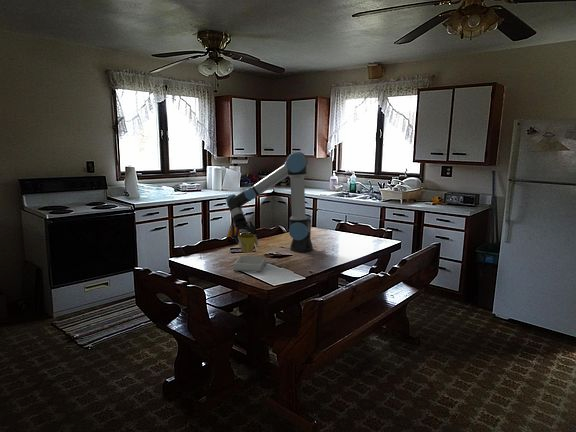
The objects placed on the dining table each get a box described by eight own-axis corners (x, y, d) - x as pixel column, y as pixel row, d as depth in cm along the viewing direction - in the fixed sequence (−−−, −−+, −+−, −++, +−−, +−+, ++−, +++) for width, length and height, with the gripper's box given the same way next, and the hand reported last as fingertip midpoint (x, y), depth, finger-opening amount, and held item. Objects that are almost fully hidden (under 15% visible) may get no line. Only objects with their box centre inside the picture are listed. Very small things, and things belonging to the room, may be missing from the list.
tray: (266, 264, 237) (266, 257, 236) (260, 272, 222) (260, 265, 221) (240, 262, 239) (240, 255, 239) (233, 270, 224) (233, 263, 223)
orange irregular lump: (232, 242, 287) (232, 226, 285) (226, 240, 292) (226, 224, 290) (244, 240, 293) (244, 224, 291) (239, 238, 299) (239, 222, 297)
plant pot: (249, 254, 240) (248, 238, 238) (235, 252, 246) (235, 236, 244) (259, 250, 249) (259, 235, 247) (245, 248, 254) (245, 233, 253)
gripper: (252, 218, 263) (264, 246, 253) (219, 221, 251) (230, 251, 241) (256, 211, 258) (268, 240, 247) (222, 214, 246) (233, 244, 235)
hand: (249, 245), depth 244 cm, fingers closed on plant pot, 10 cm apart
